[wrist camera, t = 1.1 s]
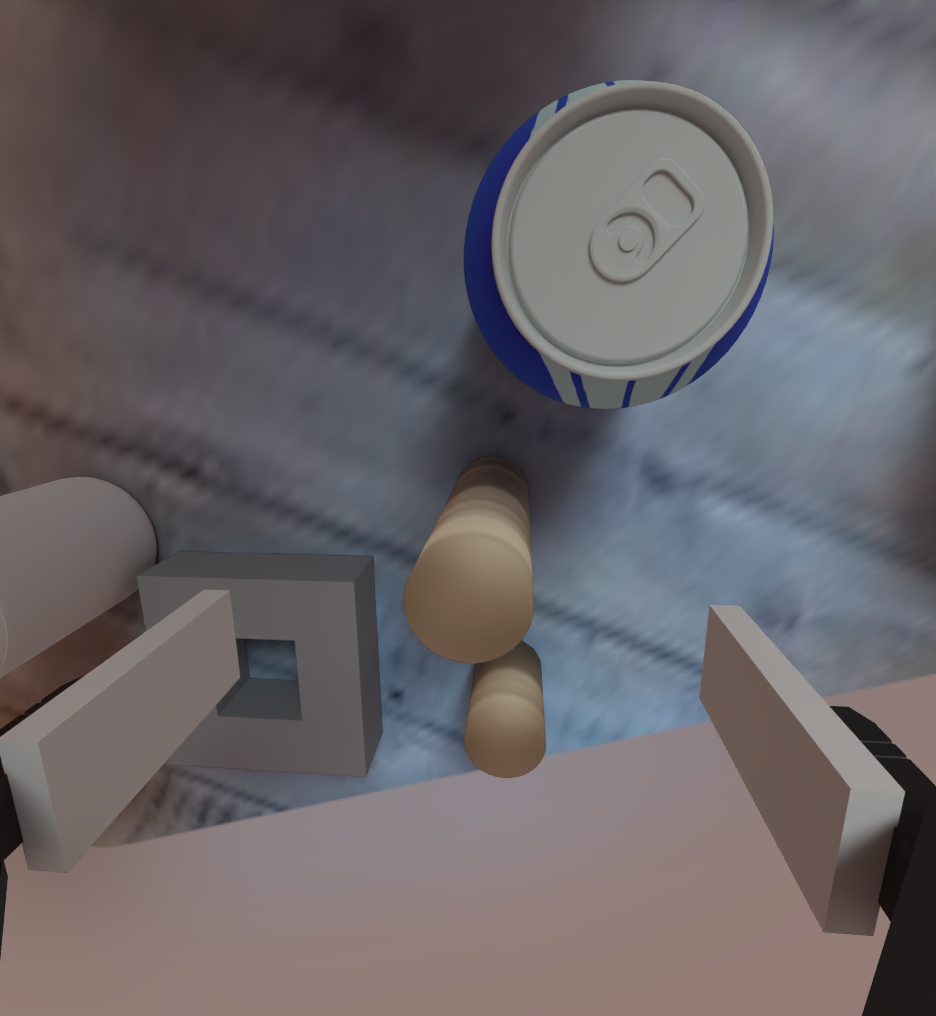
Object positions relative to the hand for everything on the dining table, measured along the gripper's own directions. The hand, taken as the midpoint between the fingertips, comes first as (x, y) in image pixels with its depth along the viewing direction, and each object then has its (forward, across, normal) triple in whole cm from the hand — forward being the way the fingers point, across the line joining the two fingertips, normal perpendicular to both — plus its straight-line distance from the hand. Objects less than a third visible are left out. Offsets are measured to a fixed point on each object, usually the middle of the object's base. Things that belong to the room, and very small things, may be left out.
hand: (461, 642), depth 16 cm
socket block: (+17, -13, -10) cm, 23 cm away
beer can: (+17, +4, +10) cm, 20 cm away
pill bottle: (+17, -24, -3) cm, 30 cm away
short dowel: (+17, +1, -11) cm, 20 cm away
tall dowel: (+17, 0, 0) cm, 17 cm away
